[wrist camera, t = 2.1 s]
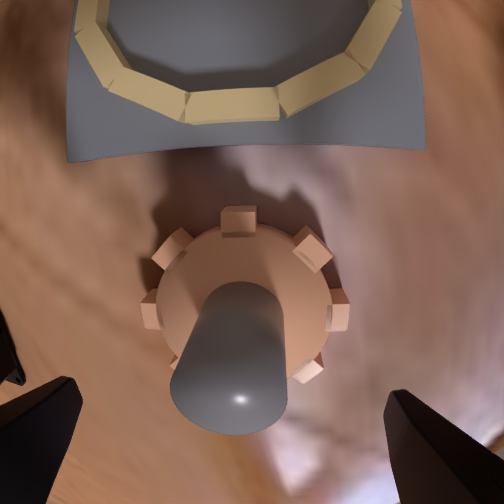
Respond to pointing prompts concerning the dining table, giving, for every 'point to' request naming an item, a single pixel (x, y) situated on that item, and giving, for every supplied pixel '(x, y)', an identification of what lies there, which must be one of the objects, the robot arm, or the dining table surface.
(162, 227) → the dining table surface
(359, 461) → the dining table surface
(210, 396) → the planet gear
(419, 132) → the carrier plate
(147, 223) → the dining table surface
